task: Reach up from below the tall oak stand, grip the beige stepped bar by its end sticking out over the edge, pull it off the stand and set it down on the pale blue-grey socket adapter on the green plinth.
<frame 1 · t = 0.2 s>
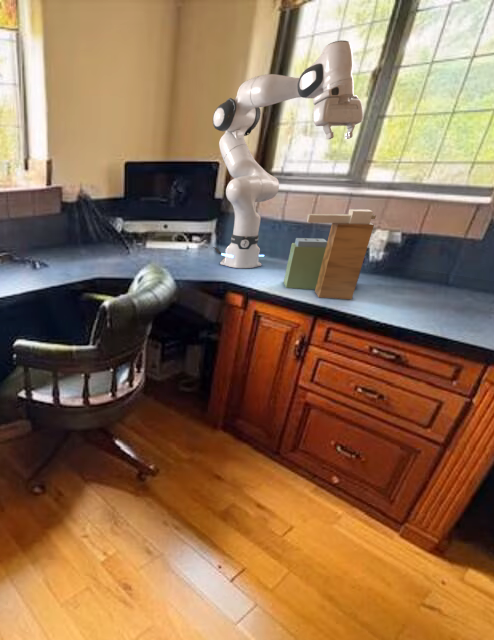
hand: (339, 138, 148), 52 cm above the table, tool tilted 20°, fingers open, 8 cm apart
beige stepped bar: (341, 222, 147), point 26 cm above the table, touching oak stand
socket adapter: (300, 285, 170), on the table
oak stand: (332, 295, 159), on the table
ink cartridge box: (347, 286, 169), on the table
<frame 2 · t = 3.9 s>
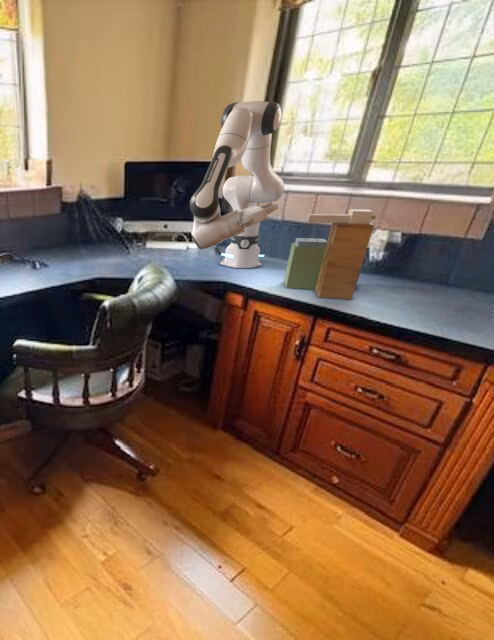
hand: (274, 205, 151), 31 cm above the table, tool pointing upward, fingers open, 8 cm apart
nothing on the table moved.
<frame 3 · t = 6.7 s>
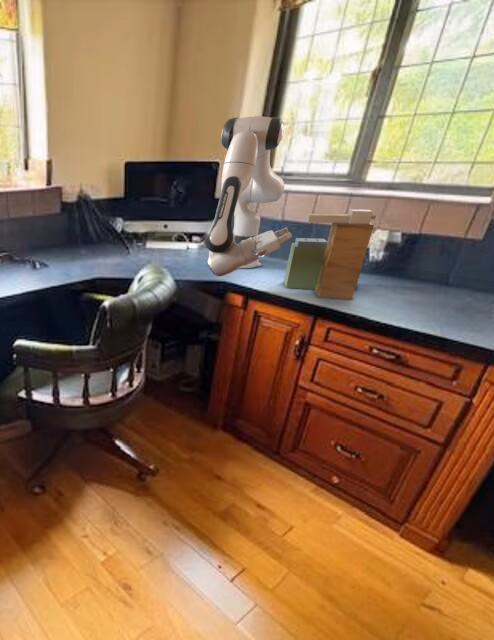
hand: (289, 231, 153), 22 cm above the table, tool pointing upward, fingers open, 8 cm apart
nothing on the table moved.
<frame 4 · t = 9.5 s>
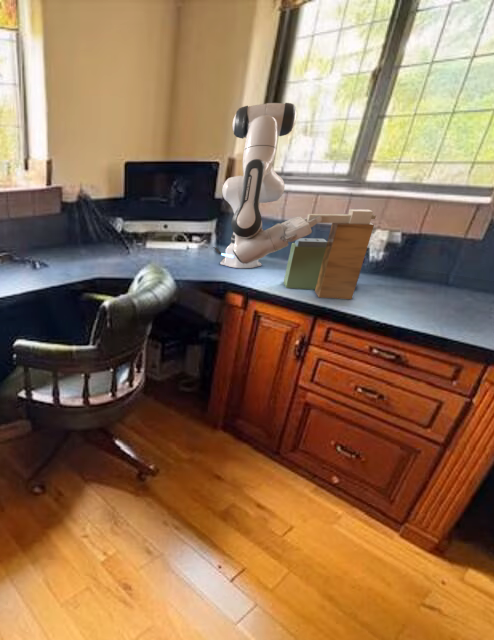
hand: (320, 217, 148), 28 cm above the table, tool pointing upward, fingers closed on beige stepped bar, 3 cm apart
beige stepped bar: (341, 222, 147), point 26 cm above the table, touching gripper, oak stand
everything else where it was.
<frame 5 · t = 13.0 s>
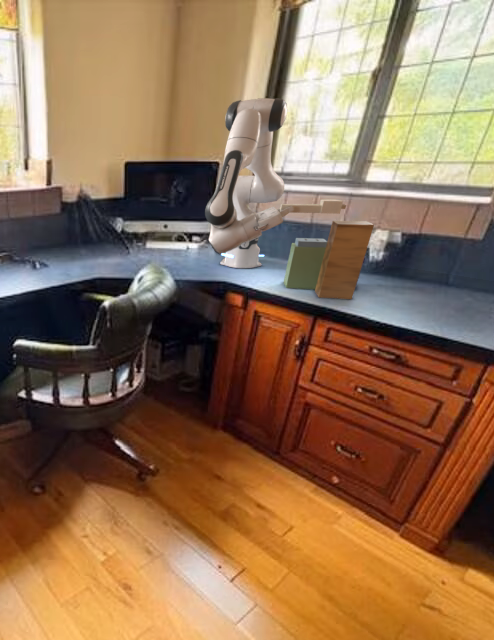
hand: (292, 206, 151), 31 cm above the table, tool pointing upward, fingers closed on beige stepped bar, 3 cm apart
beige stepped bar: (313, 212, 149), point 29 cm above the table, touching gripper
everything else where it was.
when the fingers open (20 cm above the table, at t = 16.7 s): beige stepped bar stays where it is, resting on socket adapter.
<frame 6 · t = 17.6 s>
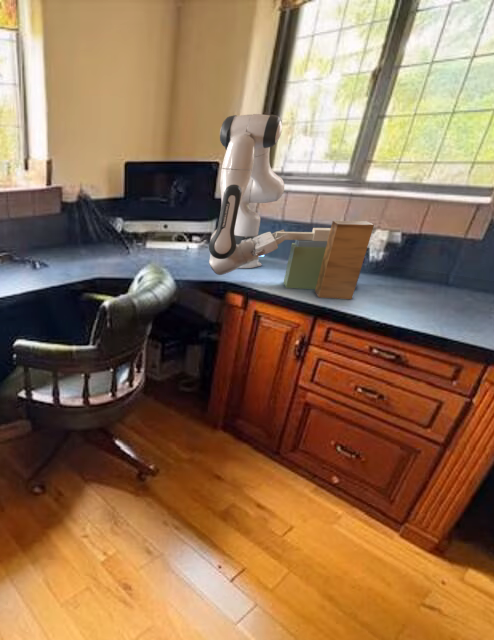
hand: (286, 233, 163), 20 cm above the table, tool pointing upward, fingers open, 8 cm apart
beige stepped bar: (305, 239, 162), point 18 cm above the table, touching socket adapter
everything else where it was.
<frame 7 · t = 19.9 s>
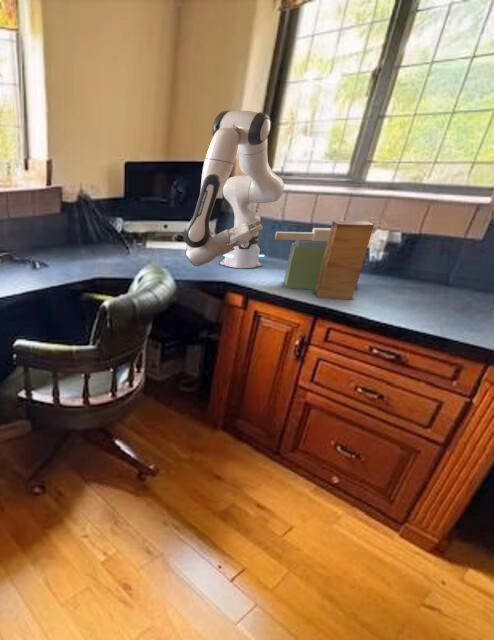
hand: (261, 224, 164), 23 cm above the table, tool pointing upward, fingers open, 8 cm apart
nothing on the table moved.
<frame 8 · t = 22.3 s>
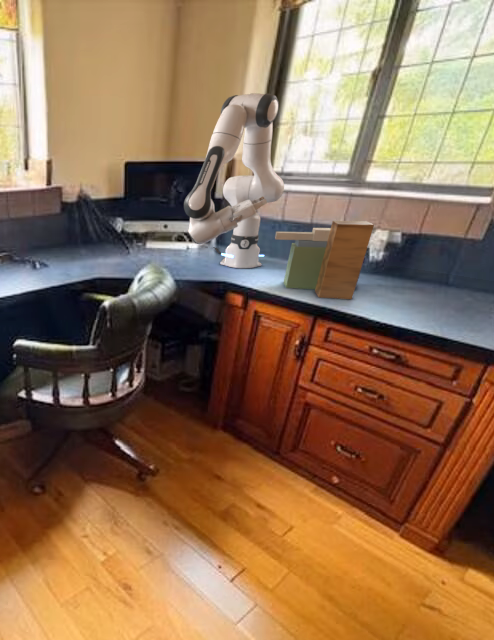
hand: (265, 199, 160), 32 cm above the table, tool pointing upward, fingers open, 8 cm apart
nothing on the table moved.
at the end: beige stepped bar inside the target area on the socket adapter (1.3 cm from its centre), point 18.1 cm above the socket adapter's base; beige stepped bar touching socket adapter; the gripper is holding nothing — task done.
